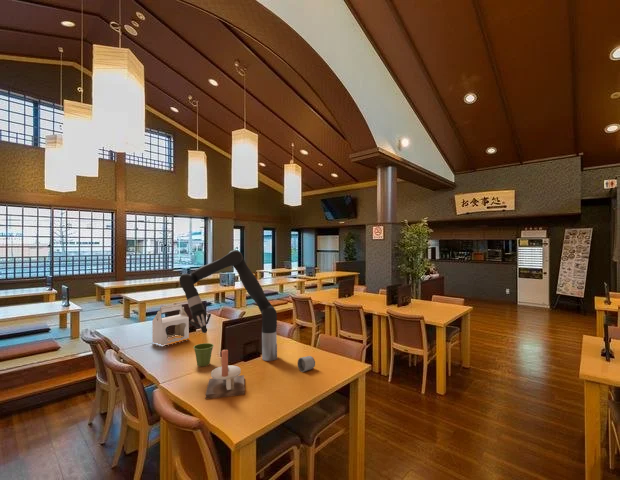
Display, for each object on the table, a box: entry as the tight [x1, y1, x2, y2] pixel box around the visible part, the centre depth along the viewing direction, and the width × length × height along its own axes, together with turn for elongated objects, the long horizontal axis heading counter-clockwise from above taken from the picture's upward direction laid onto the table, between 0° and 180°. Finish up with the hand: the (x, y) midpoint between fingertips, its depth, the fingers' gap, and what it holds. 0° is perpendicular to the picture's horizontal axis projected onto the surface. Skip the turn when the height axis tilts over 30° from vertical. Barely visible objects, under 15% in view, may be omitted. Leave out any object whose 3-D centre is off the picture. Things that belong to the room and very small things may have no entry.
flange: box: [210, 349, 242, 390], centre depth 155 cm, size 15×14×17 cm
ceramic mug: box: [297, 355, 316, 373], centre depth 178 cm, size 11×8×8 cm
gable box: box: [151, 303, 190, 345], centre depth 233 cm, size 22×13×28 cm, turn 145°
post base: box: [204, 374, 245, 400], centre depth 155 cm, size 18×18×8 cm
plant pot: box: [192, 342, 215, 367], centre depth 187 cm, size 12×12×11 cm
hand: (205, 332), depth 179 cm, fingers closed
